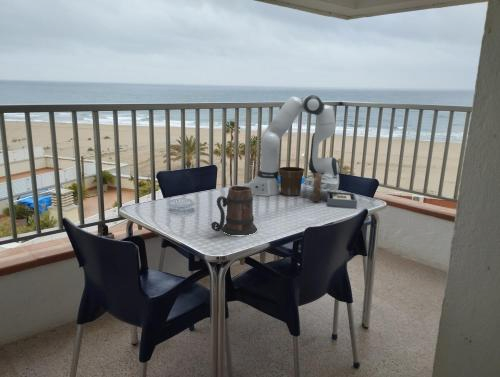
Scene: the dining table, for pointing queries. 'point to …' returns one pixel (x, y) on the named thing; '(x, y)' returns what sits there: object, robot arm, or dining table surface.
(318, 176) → the peg
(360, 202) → the dining table surface
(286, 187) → the plant pot
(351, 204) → the tray
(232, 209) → the tankard
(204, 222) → the dining table surface
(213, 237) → the dining table surface
